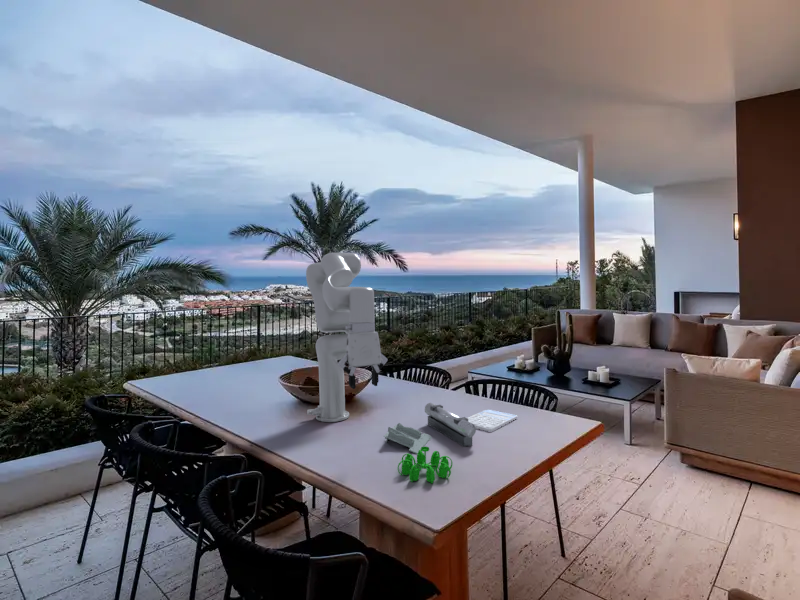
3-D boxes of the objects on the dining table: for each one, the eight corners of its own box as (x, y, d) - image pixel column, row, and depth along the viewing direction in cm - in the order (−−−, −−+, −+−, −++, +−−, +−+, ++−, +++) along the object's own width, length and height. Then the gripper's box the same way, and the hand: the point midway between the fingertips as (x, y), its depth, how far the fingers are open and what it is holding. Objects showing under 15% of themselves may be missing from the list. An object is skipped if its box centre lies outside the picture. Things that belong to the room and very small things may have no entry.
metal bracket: (379, 431, 131) (397, 417, 146) (375, 449, 132) (392, 433, 146) (423, 449, 127) (436, 433, 141) (418, 467, 128) (432, 449, 142)
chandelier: (403, 489, 106) (402, 462, 106) (393, 464, 121) (392, 440, 121) (461, 483, 109) (460, 456, 109) (444, 459, 124) (444, 436, 124)
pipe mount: (464, 448, 131) (463, 424, 131) (424, 423, 155) (424, 403, 155) (476, 445, 133) (475, 422, 133) (435, 421, 157) (435, 401, 156)
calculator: (458, 425, 154) (458, 420, 154) (487, 412, 168) (487, 407, 168) (490, 433, 145) (490, 428, 145) (519, 419, 159) (518, 414, 159)
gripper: (338, 330, 124) (339, 392, 124) (393, 327, 131) (394, 385, 131) (331, 328, 130) (332, 387, 131) (384, 325, 137) (385, 381, 138)
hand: (363, 385), depth 131 cm, fingers open, 6 cm apart
